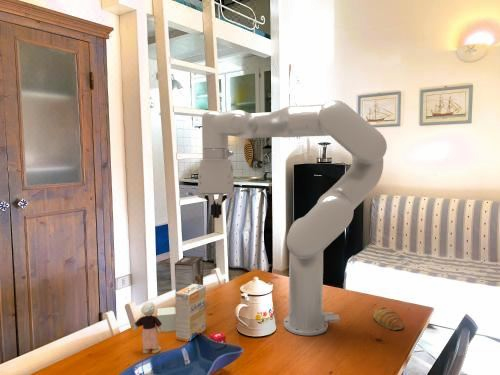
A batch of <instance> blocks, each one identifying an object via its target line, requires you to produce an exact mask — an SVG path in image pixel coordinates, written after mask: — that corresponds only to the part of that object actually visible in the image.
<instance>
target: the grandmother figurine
mask: <svg viewBox="0 0 500 375" xmlns="http://www.w3.org/2000/svg"><path fill="white" fill-rule="evenodd" d="M140 312H141V313H142V314H144V316H141V317H139V318H138V319H137V320H136V321H135V323H134V327H133V331H134V332H137V331H138V328H139V327H142V330H141V331H142V332H141V334H142V337H141V338H142V340H141V341H142V348H143V350H142V353H143V354H149V353H150V352H151V353H152V354H157V353H159V352H160V351H161V350H162V348H161V345H159V339H158V328H159V329H160V332H159V333H165V332H164V329H163V326H162V323H161V322H160V320H159V319H158V318H157V316H154V313H155V303H154V302H153V301H146V302H145V303H144V304H143V305H142V307H141V310H140Z"/></svg>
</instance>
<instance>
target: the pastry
mask: <svg viewBox="0 0 500 375" xmlns="http://www.w3.org/2000/svg"><path fill="white" fill-rule="evenodd" d="M372 316H373V318H374V321H375V322H376V323H378V324H379V325H380V326H382V327H384V328H385V329H389V330H393V331H396V330H401V329H403V327H404V326H405V325H404V323H403V319H402V318H401V316H400V315H399V314H398V312H397V311H395V310H394V309H392V308H391V309H390V308H389V307H388V306H380V307H378V308H376V309H375V310H374V312H373V315H372Z"/></svg>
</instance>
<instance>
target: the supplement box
mask: <svg viewBox="0 0 500 375" xmlns="http://www.w3.org/2000/svg"><path fill="white" fill-rule="evenodd" d="M206 292H207V290H206V285H204V284H203V285H198V284H191V285H189V286H187V287H185V288H183V289H181V290H180V291H178V292H176V291H175V293H174V294H175V297H174V298H175V314H176V331H175V339H176V340H178V341H182V342H187V343H189V342H188V340H189V338H190V336H191V334H192V333H195V332H198V333H201V334H202V333H204V332H205V331H206V330H207V318H206V316H207V315H206V314H207V312H206V310H207V309H206V308H207V307H206V303H207V302H206V301H207V299H206V297H207V296H206Z"/></svg>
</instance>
